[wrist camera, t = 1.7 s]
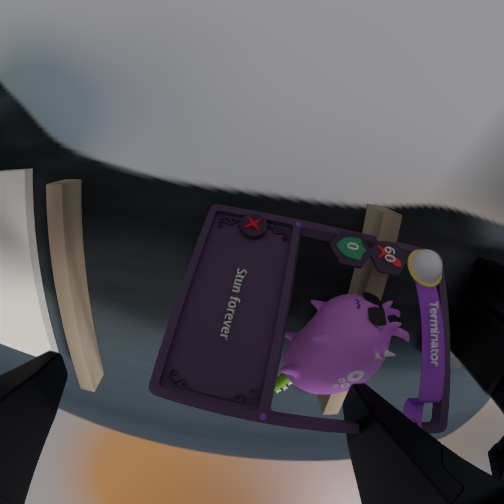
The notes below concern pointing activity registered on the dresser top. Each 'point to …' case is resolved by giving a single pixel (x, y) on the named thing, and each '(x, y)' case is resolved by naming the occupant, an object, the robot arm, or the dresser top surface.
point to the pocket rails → (76, 290)
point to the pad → (21, 269)
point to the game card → (275, 320)
